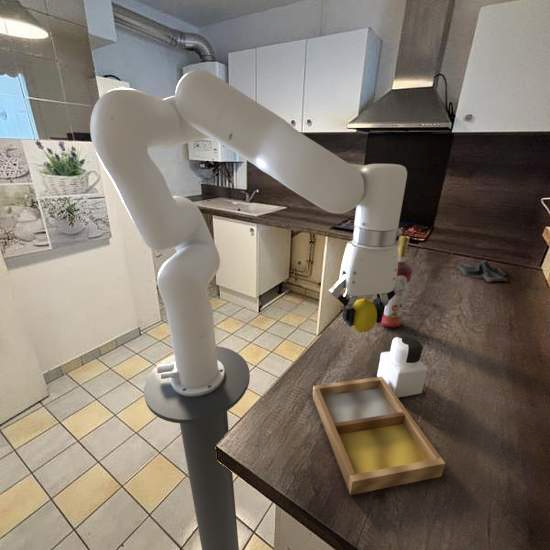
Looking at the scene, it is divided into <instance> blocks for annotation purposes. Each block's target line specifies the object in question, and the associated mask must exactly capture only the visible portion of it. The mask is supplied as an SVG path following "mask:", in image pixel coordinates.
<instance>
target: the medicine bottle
mask: <svg viewBox="0 0 550 550" xmlns="http://www.w3.org/2000/svg"><path fill="white" fill-rule="evenodd" d="M423 349H424V347H423V345H422V343H421V342H420V341H419V340H417V339H416V338H414V337H411V336H407V335H398V336H395V337H393V339H392V341H391V346H390V350H389V351H382V352H381V353H380V356H379V363H378V367H377V368H378V369H377V373H376V377H383V378H384V380H385V381H386V383H387V384H388V385H389V387H390V388H391V389H392V391H393V392H394V394H395V395H396V396H397V398H398V399H399V398H404V397H409V396H414V395H419V394H422V393H423V390H424V385H425V382H426V378H427V375H428V371H429V368H428V367H427V365H425V363H424V362H422V361H421V359H422V354H423Z"/></svg>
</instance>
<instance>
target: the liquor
mask: <svg viewBox="0 0 550 550" xmlns="http://www.w3.org/2000/svg"><path fill="white" fill-rule="evenodd" d="M397 240H398V241H397V245H398V270H397V279H398V280H399V281H400V282H401V284H402V285H403V288H402V289H401V290H399V291H398V292H397V293H395V295H394V297H392V298H391V299H390V300H389V303H388V305H386V306H385V309H384V315H383V317H382V322H381V323H380V325H381V326H382V327H383V328H388V329H394V328H397V327H400V326H401V325H402V320H401V318H402V314H403V308H404V305H405V301H406V297H407V293H408V290H409V287H410V282H411V278H412V274H413V268H412V267H411V266H410V265H409V264H407V263H406V260H407V248H408V245H409V243H410V236H407V235H401V236H398V239H397Z"/></svg>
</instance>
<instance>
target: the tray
mask: <svg viewBox="0 0 550 550" xmlns="http://www.w3.org/2000/svg"><path fill="white" fill-rule="evenodd" d="M312 400H313V402H314V405H315V407H316V410H317V413H318V415H319V418H320V421H321V424H322V426H323V428H324V432H325V434H326V437H327V439H328V442H329V445H330V446H331V449H332V452H333V454H334V457H335V460H336V463H337V465H338V467H339V470H340V472H341V474H342V477H343V481H344V482H345V485H346V489H347V490H348V494H349V496H354V495H358V494H359V495H360V494H363V493H369V492H373V491H377V490H383V489H388V488H392V487H397V486H402V485H407V484H411V483H417V482H422V481H426V480H427V481H428V480H432V479H436V478H441V477H442V475H443V472H444V469H445V466H446V462H445V460H444V459H443V457H442V456H441V455H440V454H439V452H438V451H437V450H436V448H435V447H434V445H433V444H432V443H431V441H430V440H429V438H428V437H427V436H426V434H425V433H424V432H423V430H422V429H421V427H420V426H419V424H417V422H416V421H415V419H414V418H413V417H412V415H411V414H410V413H409V411H408V409H406V407H405V406H404V404H403V403H402V401H400V398H399V397H398V398H397V396H396V395H395V394H394V392H393V391H392V389H391V388H390V387H389V385H388V384H387V383H386V381H385V380H384V378H383V377H377V376H375V377H367V378H361V379H354V380H345V381H337V382H332V383H331V382H330V383H324V384H317V385H312Z"/></svg>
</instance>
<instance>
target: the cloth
mask: <svg viewBox="0 0 550 550" xmlns="http://www.w3.org/2000/svg"><path fill="white" fill-rule="evenodd" d="M458 270H459V271H460V272H461V274H462V275H463V276H466V277H470V278H474V279H480V280H485V281H486V282H489V283H497V282H508V281H509V280H508V279H507V278H506V277H505V276H507V274H506V272H505V271H504V270H502V269H501V268H500V267H497V266H494V265H491V264H490V263H489V261H488V260H486V259H484V260H483V259H482V260H481V261H480V262H479V263H476V262H466V263H464V264H462V266H460V267H459V268H458Z"/></svg>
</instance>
